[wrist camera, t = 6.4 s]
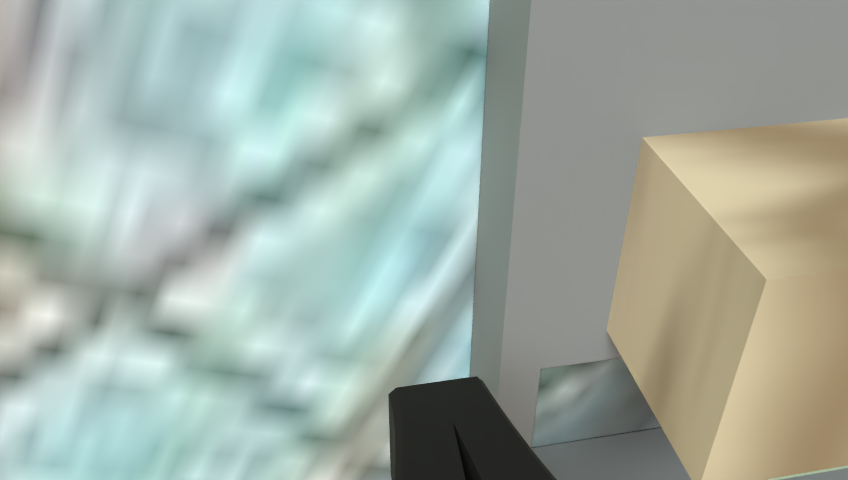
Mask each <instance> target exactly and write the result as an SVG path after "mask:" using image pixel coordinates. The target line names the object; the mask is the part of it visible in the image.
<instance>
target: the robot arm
mask: <svg viewBox="0 0 848 480" xmlns="http://www.w3.org/2000/svg"><path fill="white" fill-rule="evenodd" d="M389 426H390V459H391V478H392V480H556V478H555V477H554V476H553V475H552V474H551V472H550V471H549V470H548V469H547V468H546V466H545V465H544V464H543V463H542V462H541V460H540V459H539V458H538V457H537V455H536V454H535V453H534V452H533V450H532V449H531V448H530V446H529V445H528V444H527V443H526V441H525V440H524V439H523V437H522V436H521V435H520V433H519V432H518V431H517V429H516V428H515V427H514V425H513V424H512V423H511V421H510V420H509V418H508V417H507V416H506V414H505V413H504V411H503V410H502V409H501V407H500V406H499V404H498V403H497V401H496V400H495V398H494V397H493V396H492V394H491V393H490V391H489V390H488V388H487V386H486V385H485V383H484V382H483V381H482V380H481V379H480V378H478V377H477V376H475V377H468V378H461V379H454V380H447V381H440V382H433V383H426V384H419V385H412V386H405V387H398V388H395V389H394V390H393V391H392V392H391V393H390V394H389Z"/></svg>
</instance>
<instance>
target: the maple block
mask: <svg viewBox="0 0 848 480" xmlns="http://www.w3.org/2000/svg"><path fill="white" fill-rule="evenodd" d="M607 332H608V334H609V336H610V337H611V339H612V341H613V343H614V344H615V346H616V348H617V350H618V351H619V353H620V355H621V357H622V358H623V360H624V362H625V364H626V366H627V367H628V369H629V371H630V373H631V374H632V376H633V378H634V380H635V381H636V383H637V385H638V387H639V388H640V390H641V392H642V394H643V395H644V397H645V399H646V401H647V403H648V404H649V406H650V408H651V410H652V411H653V413H654V415H655V417H656V418H657V420H658V422H659V424H660V425H661V427H662V429H663V431H664V433H665V434H666V436H667V438H668V440H669V441H670V443H671V445H672V447H673V448H674V450H675V452H676V454H677V455H678V457H679V459H680V461H681V462H682V464H683V466H684V468H685V470H686V471H687V473H688V475H689V477H690V478H691V480H766V479H772V478H778V477H783V476H789V475H795V474H801V473H807V472H812V471H818V470H824V469H830V468H836V467H842V466H847V465H848V118H845V119H834V120H823V121H813V122H802V123H791V124H781V125H770V126H759V127H749V128H738V129H727V130H717V131H706V132H695V133H685V134H674V135H664V136H653V137H642V142H641V147H640V152H639V158H638V163H637V169H636V174H635V179H634V185H633V190H632V196H631V201H630V206H629V212H628V217H627V223H626V228H625V233H624V239H623V244H622V250H621V255H620V260H619V266H618V271H617V276H616V282H615V287H614V293H613V298H612V303H611V309H610V314H609V320H608V325H607Z"/></svg>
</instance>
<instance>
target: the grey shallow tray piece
mask: <svg viewBox="0 0 848 480" xmlns="http://www.w3.org/2000/svg"><path fill="white" fill-rule="evenodd" d="M845 118H848V0H490V9H489V27H488V46H487V64H486V83H485V101H484V120H483V138H482V157H481V175H480V194H479V212H478V231H477V249H476V268H475V287H474V305H473V324H472V342H471V361H470V377H475V376H477V377H478V378H480V379H481V380H482V381H483V382H484V383H485V385H486V386H487V388H488V390H489V391H490V393H491V394H492V396H493V397H494V398H495V400H496V401H497V403H498V404H499V406H500V407H501V409H502V410H503V411H504V413H505V414H506V416H507V417H508V418H509V420H510V421H511V423H512V424H513V425H514V427H515V428H516V429H517V431H518V432H519V433H520V435H521V436H522V437H523V439H524V440H525V441H526V443H527V444H528V445H529V446H530V448H531V443H532V435H533V427H534V420H535V412H536V404H537V396H538V388H539V380H540V372H541V369H545V368H552V367H559V366H566V365H573V364H580V363H588V362H595V361H602V360H609V359H616V358H622V357H621V355H620V353H619V351H618V350H617V348H616V346H615V344H614V343H613V341H612V339H611V337H610V336H609V334H608V332H607V325H608V320H609V314H610V309H611V303H612V298H613V293H614V287H615V282H616V276H617V271H618V266H619V260H620V255H621V250H622V244H623V239H624V233H625V228H626V223H627V217H628V212H629V206H630V201H631V196H632V190H633V185H634V179H635V174H636V169H637V163H638V158H639V152H640V147H641V142H642V137H653V136H664V135H674V134H685V133H695V132H706V131H717V130H727V129H738V128H749V127H759V126H770V125H781V124H791V123H802V122H813V121H823V120H834V119H845ZM531 449H532V450H533V452H534V453H535V454H536V455H537V457H538V458H539V459H540V460H541V462H542V463H543V464H544V465H545V466H546V468H547V469H548V470H549V471H550V472H551V474H552V475H553V476H554V477H555V478H556V480H691V478H690V477H689V475H688V473H687V471H686V470H685V468H684V466H683V464H682V462H681V461H680V459H679V457H678V455H677V454H676V452H675V450H674V448H673V447H672V445H671V443H670V441H669V440H668V438H667V436H666V434H665V433H664V431H663V429H662V428H657V429H651V430H644V431H638V432H631V433H625V434H619V435H612V436H606V437H600V438H593V439H587V440H580V441H574V442H568V443H561V444H555V445H549V446H542V447H536V448H531ZM766 480H848V465H847V466H842V467H836V468H830V469H824V470H818V471H812V472H807V473H801V474H795V475H789V476H783V477H778V478H772V479H766Z"/></svg>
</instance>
